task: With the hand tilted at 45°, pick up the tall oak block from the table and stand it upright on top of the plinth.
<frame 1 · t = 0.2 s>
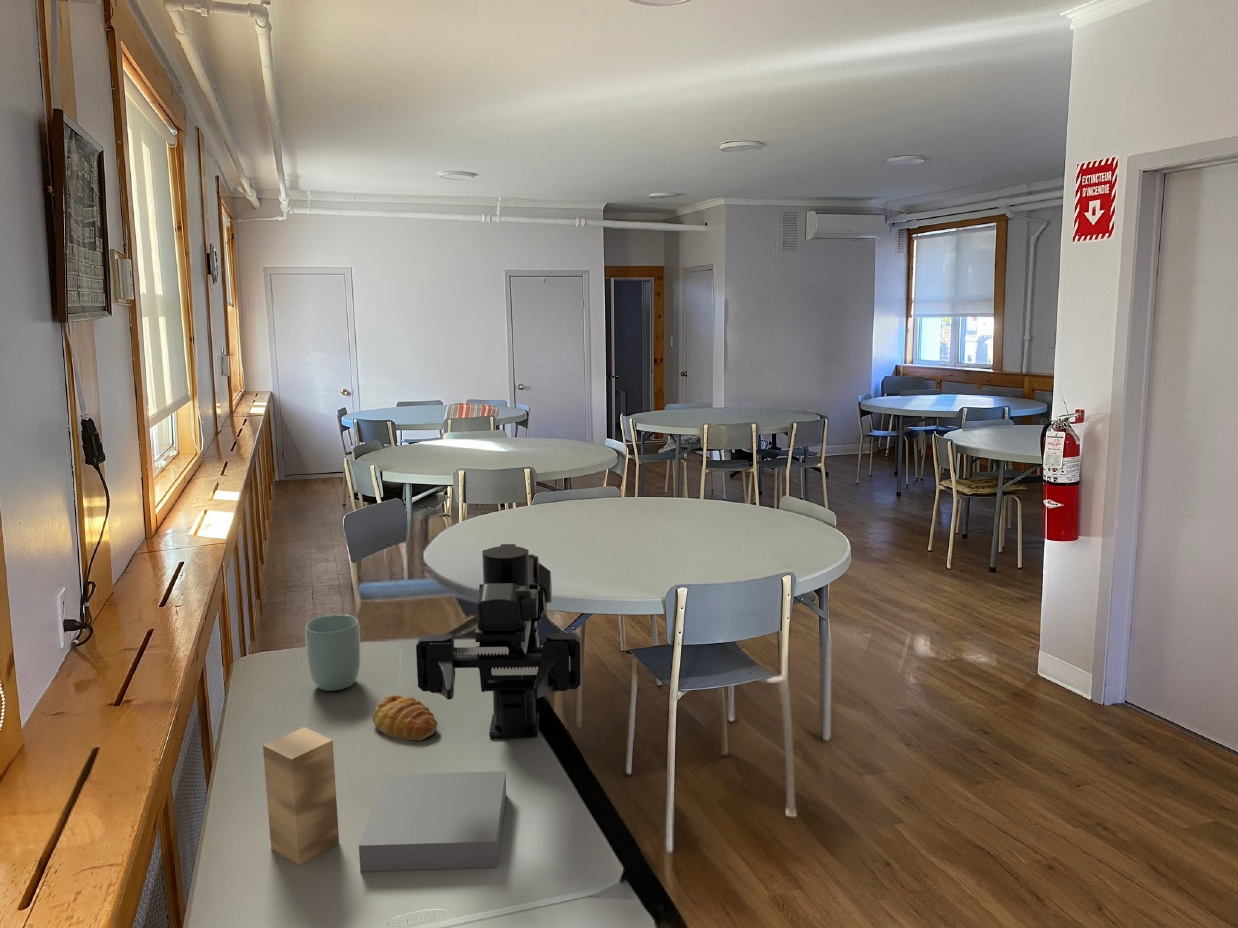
hand: (492, 694, 97), 17 cm above the table, tool horizontal, fingers open, 9 cm apart
plinth: (438, 830, 101), on the table
oak block: (305, 845, 98), on the table
pastry: (406, 729, 125), on the table
cup: (336, 686, 138), on the table
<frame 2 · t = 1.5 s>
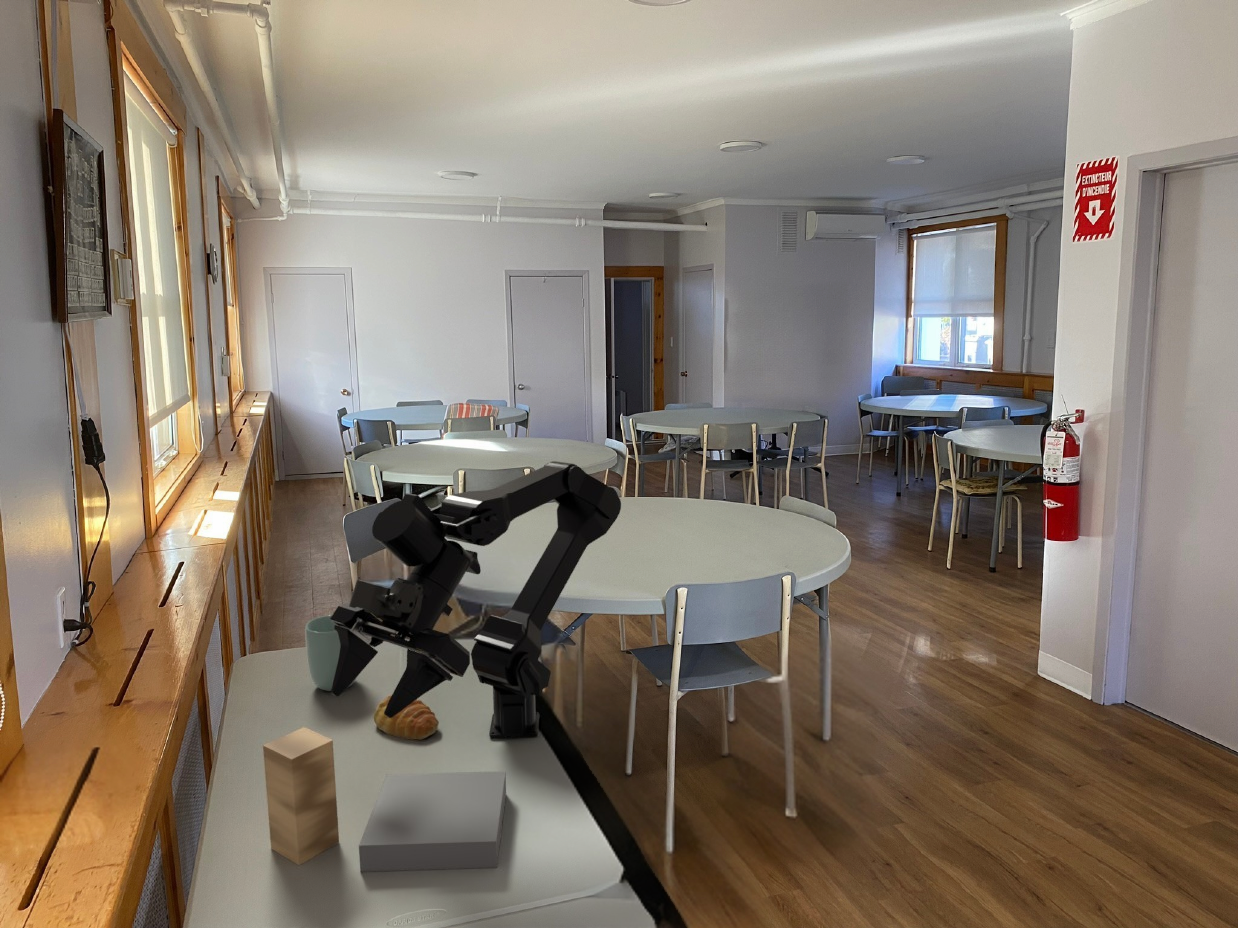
hand: (359, 705, 102), 13 cm above the table, tool tilted 45°, fingers open, 9 cm apart
nothing on the table moved.
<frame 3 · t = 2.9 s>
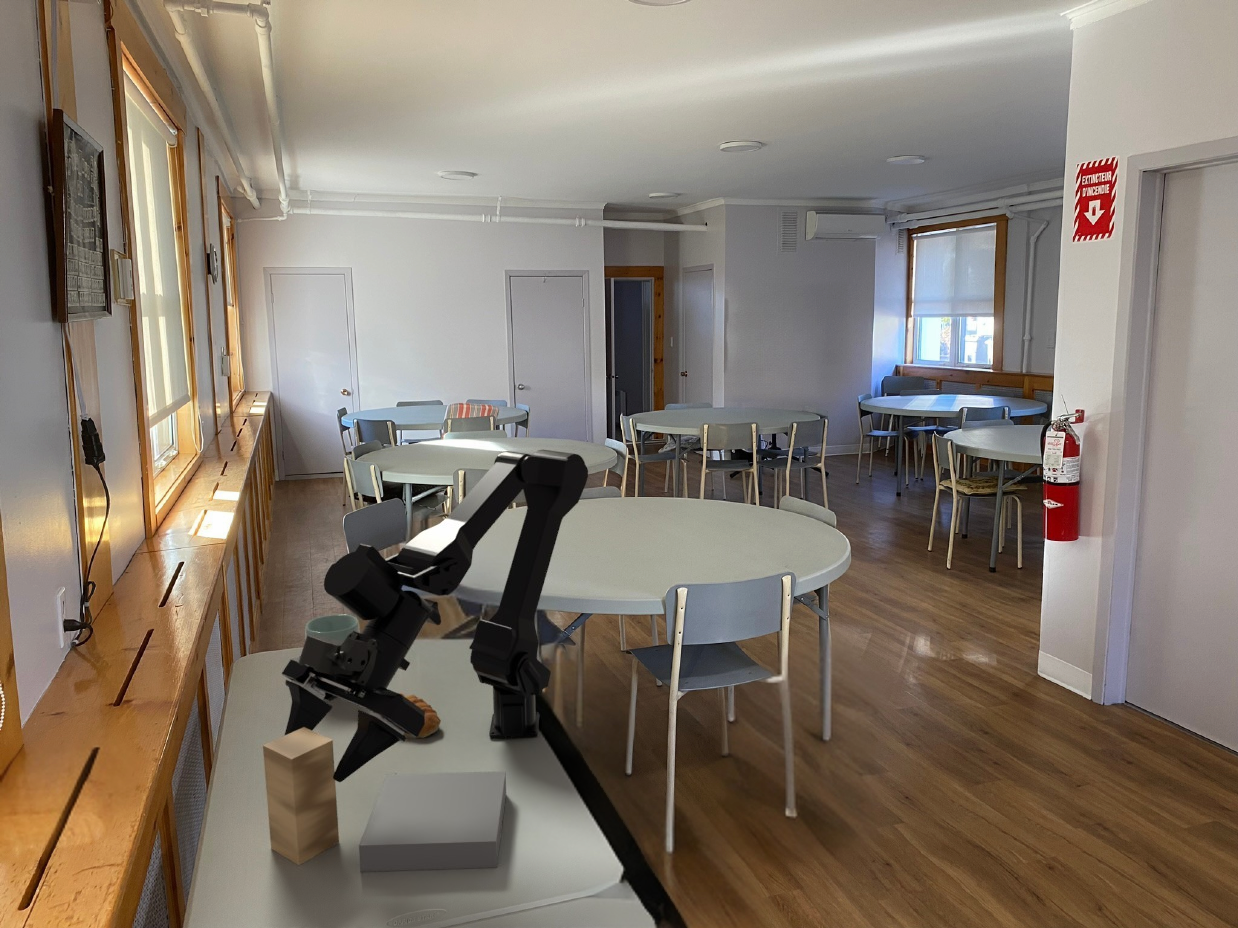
hand: (309, 767, 97), 9 cm above the table, tool tilted 45°, fingers open, 9 cm apart
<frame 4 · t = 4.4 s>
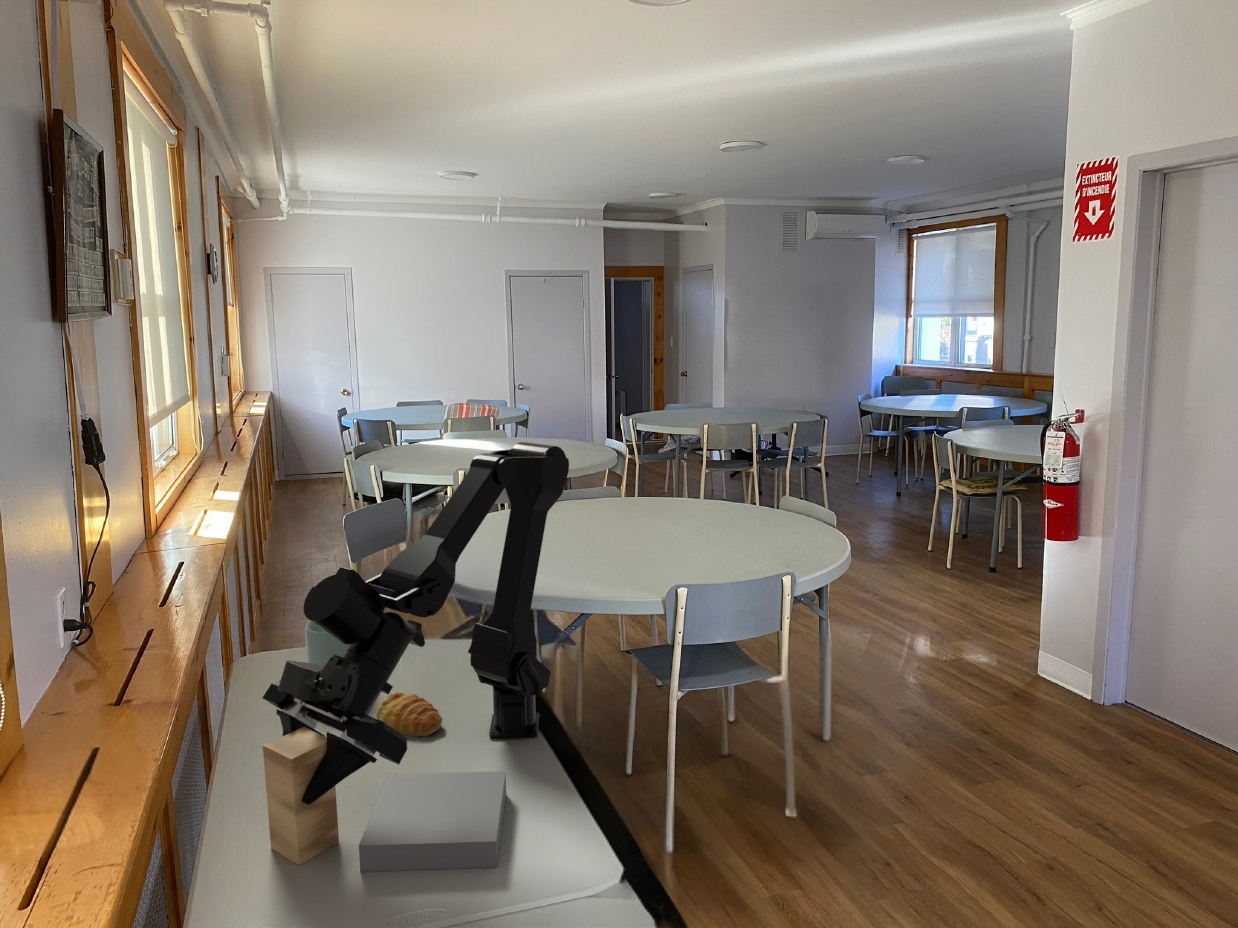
hand: (289, 794, 96), 7 cm above the table, tool tilted 45°, fingers closed on oak block, 5 cm apart
oak block: (305, 844, 98), on the table, touching gripper
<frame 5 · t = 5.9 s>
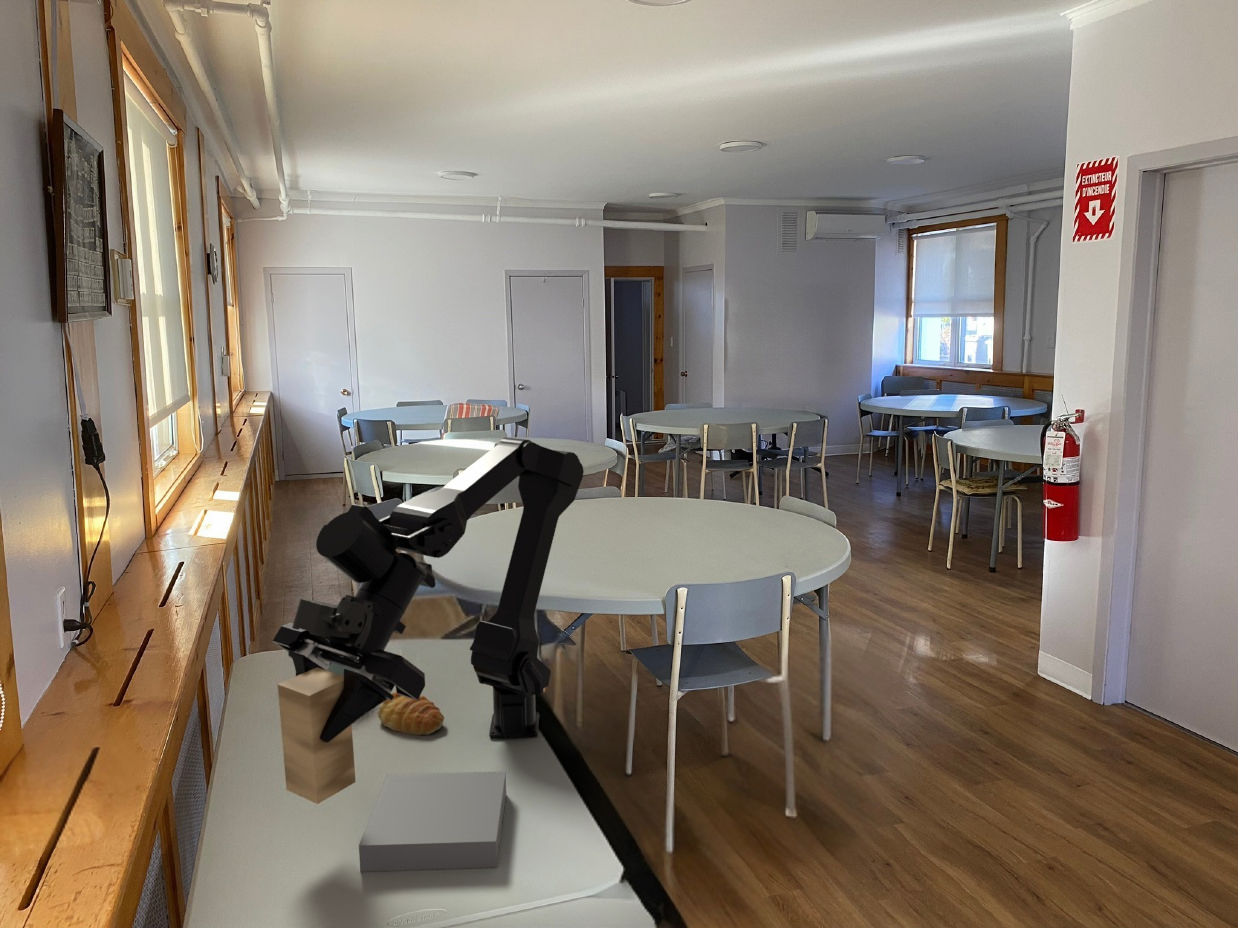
hand: (306, 733, 95), 13 cm above the table, tool tilted 45°, fingers closed on oak block, 5 cm apart
oak block: (321, 785, 97), point 7 cm above the table, touching gripper
when the fingers open (11 cm above the table, at t = 7.9 s): oak block drops 1 cm, resting on plinth.
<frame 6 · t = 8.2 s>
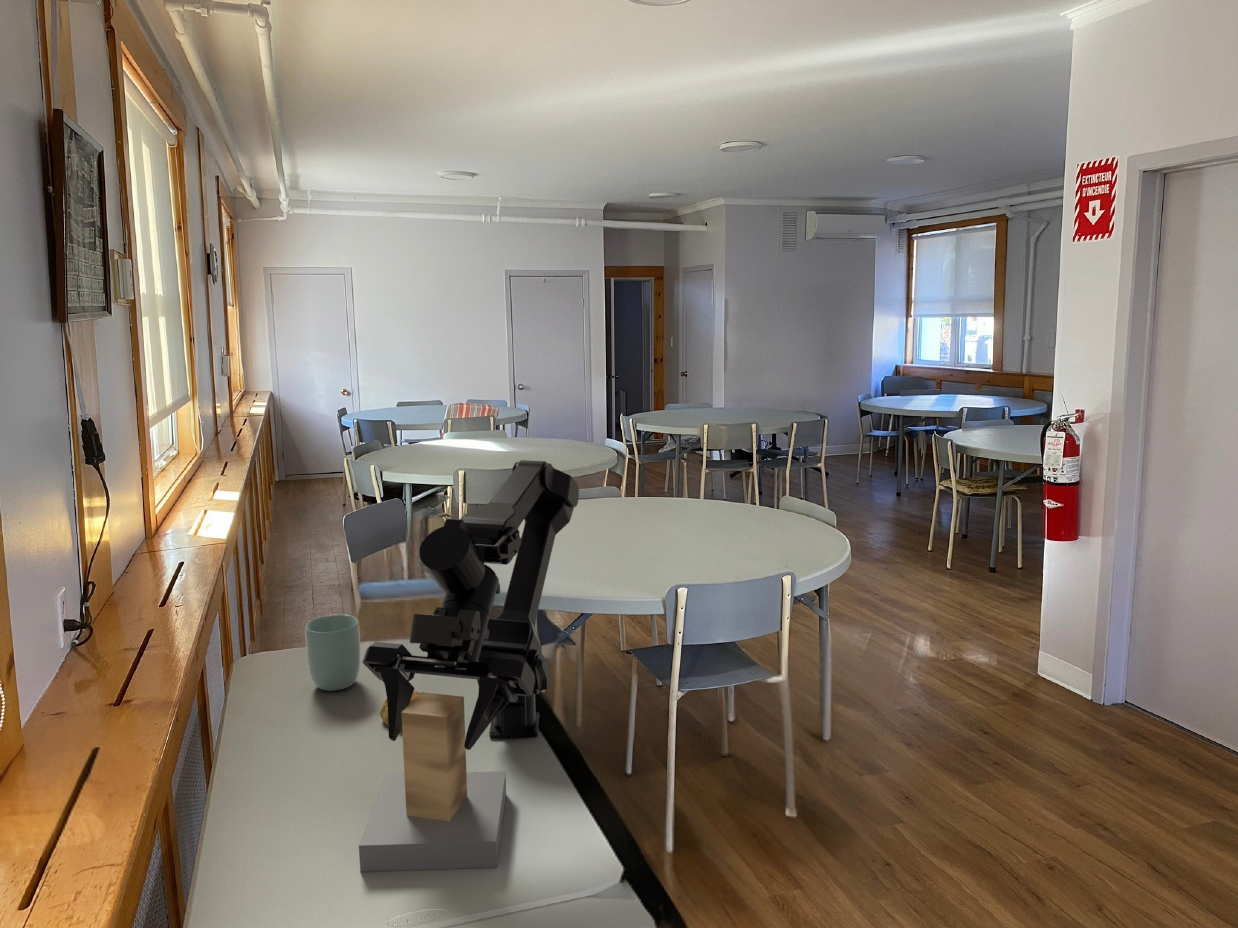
hand: (429, 744, 97), 11 cm above the table, tool tilted 45°, fingers open, 8 cm apart
oak block: (437, 805, 100), point 3 cm above the table, touching plinth
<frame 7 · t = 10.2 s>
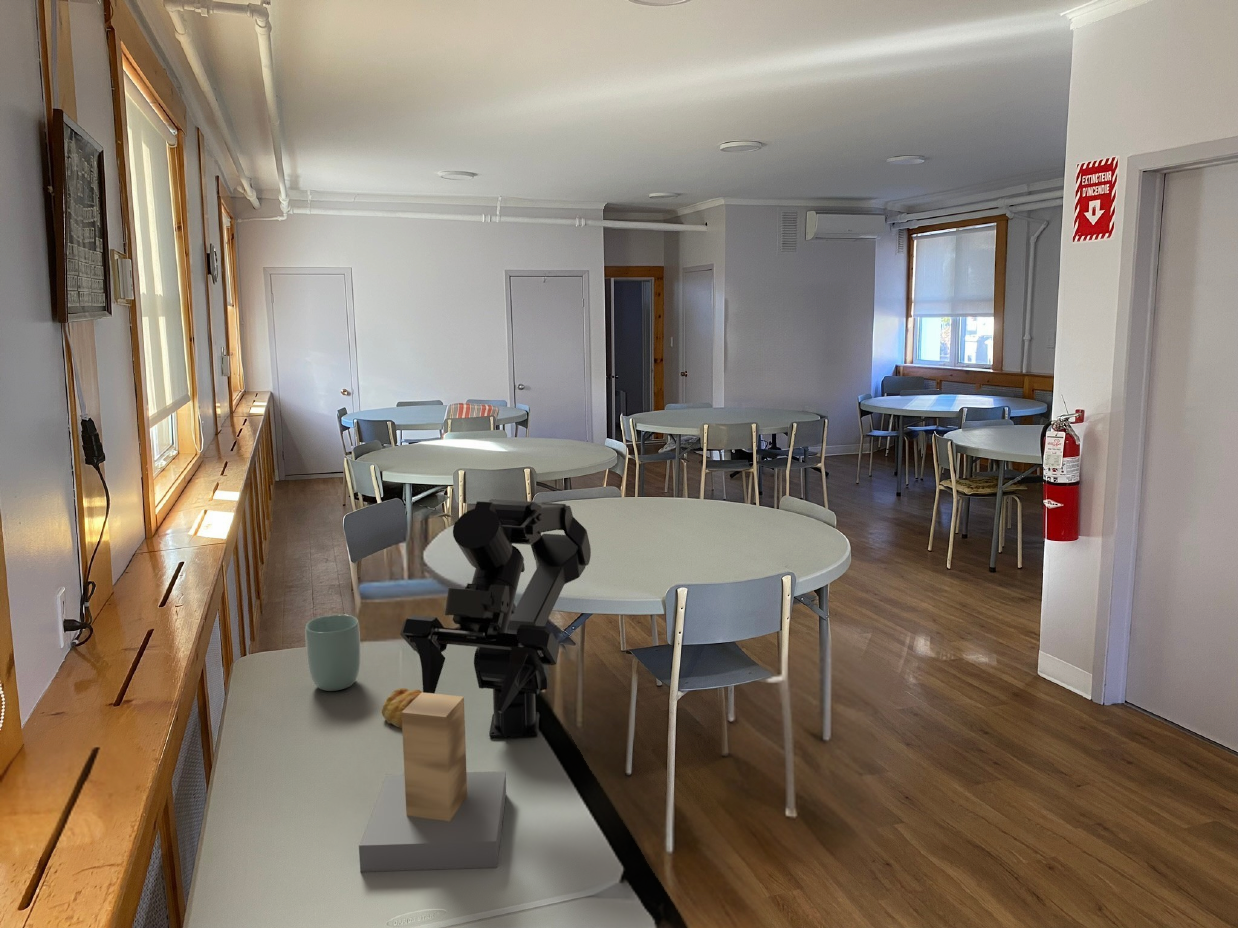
hand: (462, 707, 106), 11 cm above the table, tool tilted 45°, fingers open, 9 cm apart
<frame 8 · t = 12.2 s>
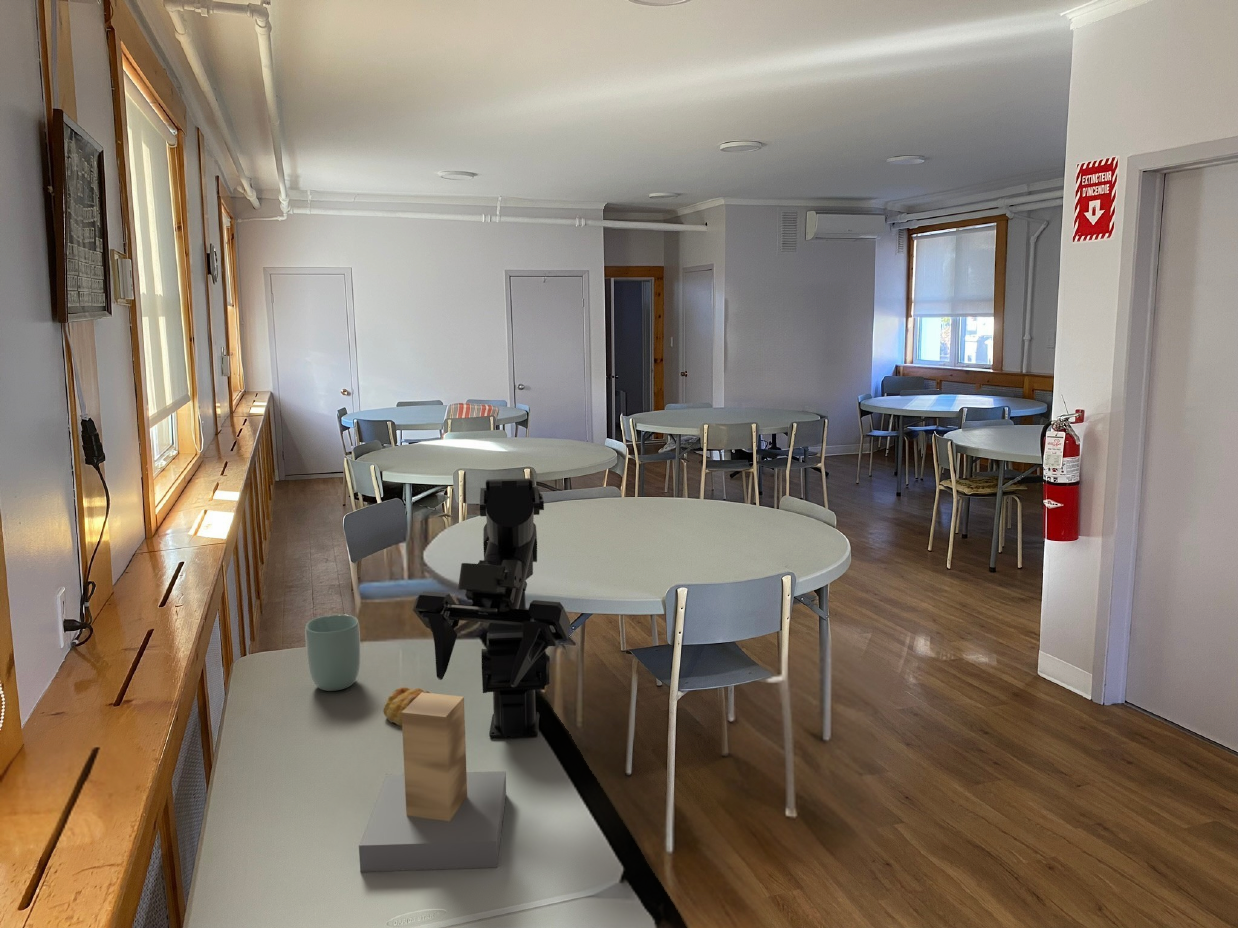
hand: (475, 682, 107), 14 cm above the table, tool tilted 45°, fingers open, 9 cm apart
at the end: oak block 0.0 cm off-centre on the plinth, point 3.0 cm above the plinth's base; oak block tilted 0°; the gripper is holding nothing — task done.
